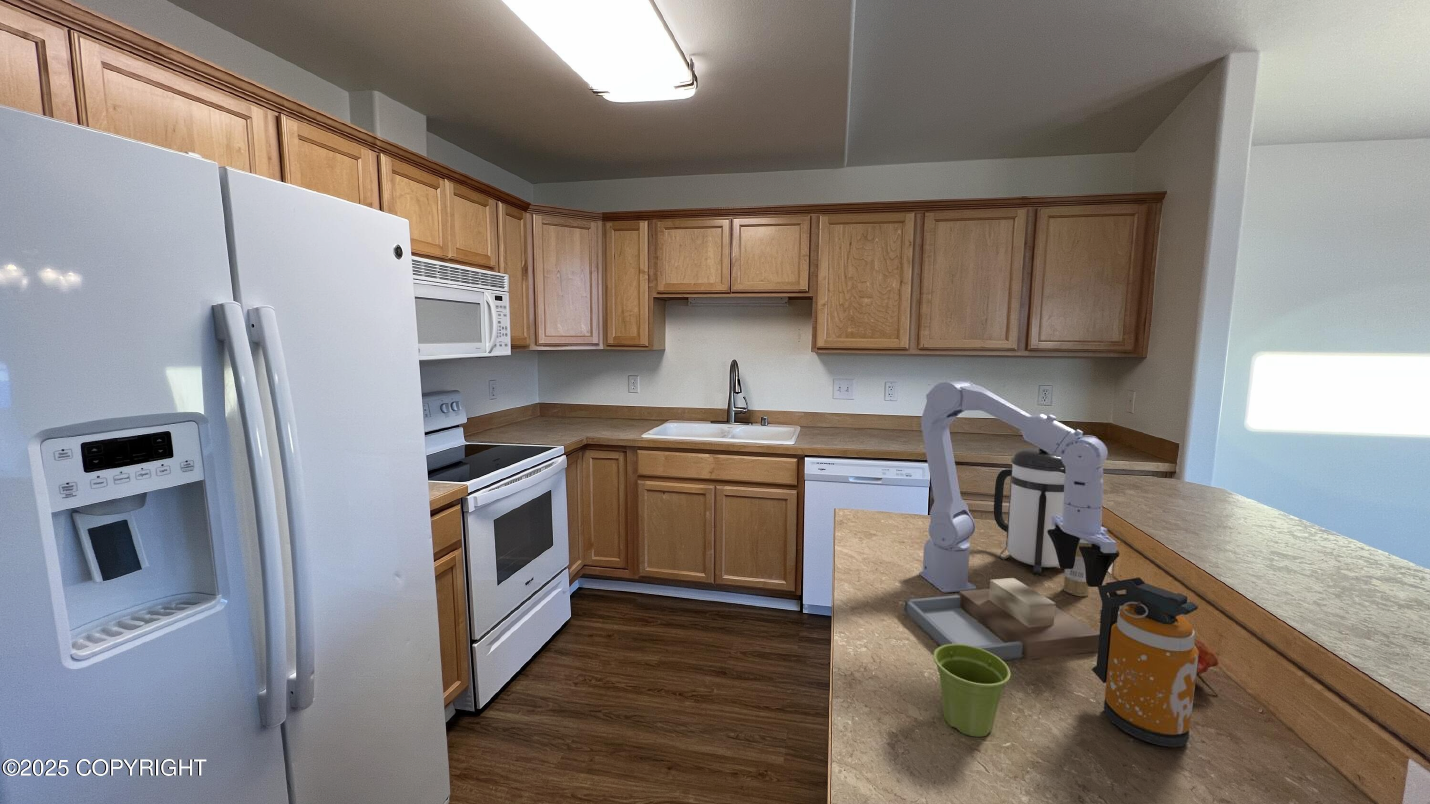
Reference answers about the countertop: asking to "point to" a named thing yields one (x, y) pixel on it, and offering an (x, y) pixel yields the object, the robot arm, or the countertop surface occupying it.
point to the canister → (1147, 661)
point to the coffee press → (1031, 506)
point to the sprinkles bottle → (1077, 575)
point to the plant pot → (970, 686)
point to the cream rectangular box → (1022, 602)
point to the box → (957, 626)
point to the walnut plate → (1031, 628)
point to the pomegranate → (1205, 659)
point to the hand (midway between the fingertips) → (1079, 576)
